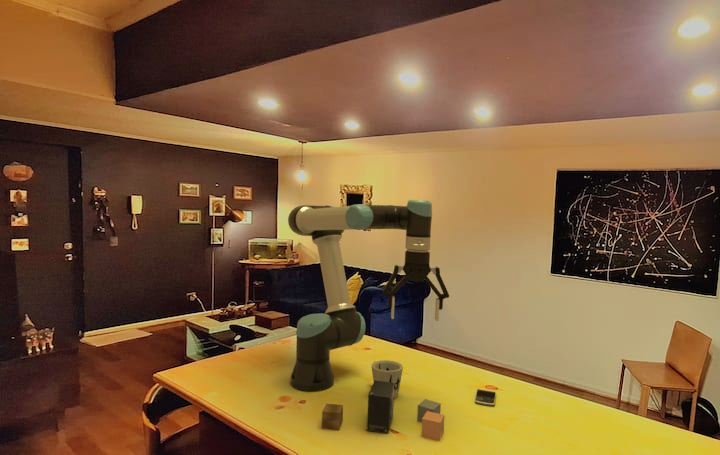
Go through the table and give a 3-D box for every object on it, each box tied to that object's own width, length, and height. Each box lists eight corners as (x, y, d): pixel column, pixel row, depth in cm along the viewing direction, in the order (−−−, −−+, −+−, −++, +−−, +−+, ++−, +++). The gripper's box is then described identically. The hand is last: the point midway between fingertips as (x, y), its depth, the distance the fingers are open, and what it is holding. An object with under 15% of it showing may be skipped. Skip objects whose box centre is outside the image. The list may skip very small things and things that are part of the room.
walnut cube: (321, 428, 120) (322, 411, 119) (325, 420, 124) (326, 403, 124) (339, 430, 119) (339, 413, 119) (342, 422, 124) (343, 405, 123)
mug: (380, 404, 135) (381, 373, 135) (358, 386, 148) (359, 358, 148) (408, 398, 140) (409, 368, 140) (384, 381, 153) (385, 354, 153)
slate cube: (417, 421, 125) (417, 404, 125) (424, 415, 129) (425, 398, 129) (433, 426, 122) (433, 409, 122) (440, 420, 126) (440, 403, 126)
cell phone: (474, 405, 137) (474, 401, 137) (477, 392, 148) (477, 388, 147) (494, 408, 135) (494, 404, 135) (496, 395, 145) (496, 391, 145)
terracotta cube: (421, 436, 117) (422, 418, 116) (426, 428, 121) (426, 411, 121) (439, 441, 115) (440, 422, 114) (443, 432, 119) (444, 414, 119)
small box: (389, 434, 117) (390, 396, 117) (366, 431, 119) (367, 394, 118) (394, 416, 128) (395, 381, 127) (372, 413, 129) (373, 379, 128)
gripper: (376, 250, 128) (374, 320, 129) (461, 253, 127) (457, 324, 128) (376, 247, 135) (374, 313, 137) (456, 250, 135) (452, 317, 136)
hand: (414, 318), depth 132 cm, fingers open, 13 cm apart
